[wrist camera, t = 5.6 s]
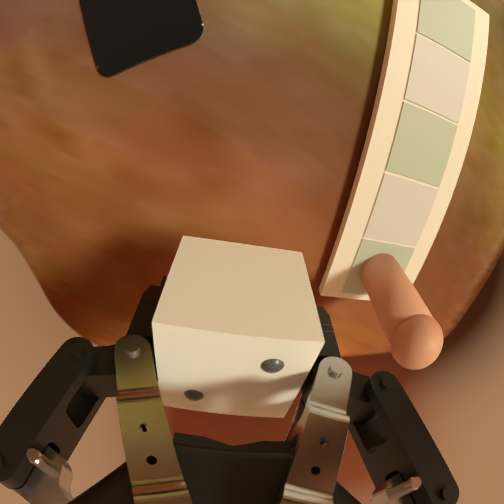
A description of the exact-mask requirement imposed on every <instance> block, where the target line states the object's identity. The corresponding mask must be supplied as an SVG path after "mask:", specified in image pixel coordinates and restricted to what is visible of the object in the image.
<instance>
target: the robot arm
mask: <svg viewBox="0 0 504 504" xmlns="http://www.w3.org/2000/svg"><path fill="white" fill-rule="evenodd" d="M167 277H168V276H164V277H163V280H162V283H161V285H160V286H153V285H151V286H150V287H149V288H148V289H147V290H145V291H144V293H143V295H142V297H141V300H140V302H139V305H138V307H137V309H136V312H135V314H134V317H133V319H132V322H131V324H130V327H129V330H128V332H127V334H126V336H124V337H122V338H120V339H119V340H118V341H117V342H116V344H115V345H111V346H100V347H93V345H92V343H91V342H90V341H89V340H87V339H85V338H82V337H74V338H71V339H69V340H67V341H66V342H65V343H64V344H63V345H62V346H61V347H60V348H59V349H58V351H57V352H56V353H55V354H54V356H53V357H52V358H51V359H50V360H49V362H48V363H47V364H46V365H45V367H44V368H43V369H42V370H41V372H40V373H39V374H38V376H37V377H36V378H35V379H34V381H33V382H32V383H31V385H30V386H29V387H28V388H27V390H26V391H25V392H24V394H23V395H22V396H21V398H20V399H19V400H18V402H17V403H16V404H15V406H14V407H13V408H12V410H11V411H10V413H9V414H8V415H7V417H6V418H5V420H4V421H3V423H2V424H1V426H0V483H1V484H3V485H4V486H5V487H7V488H9V489H10V490H12V491H14V492H16V493H18V494H20V495H21V496H22V497H23V498H24V499H26V500H27V501H28V502H30V503H31V504H361V503H360V502H359V501H358V500H357V499H355V498H354V497H353V496H352V495H351V494H350V493H349V492H348V491H347V490H346V489H345V488H344V487H342V486H341V485H340V484H339V483H338V482H337V477H338V473H339V469H340V465H341V461H342V456H343V452H344V447H345V443H346V437H347V433H348V429H349V431H350V433H351V435H352V437H353V439H354V442H355V444H356V446H357V448H358V450H359V452H360V455H361V457H362V459H363V461H364V463H365V466H366V468H367V470H368V472H369V474H370V476H371V479H372V481H373V483H374V485H375V489H374V491H373V494H372V499H371V504H456V503H457V500H458V497H459V488H458V486H457V484H456V482H455V480H454V478H453V476H452V474H451V472H450V470H449V468H448V466H447V464H446V463H445V461H444V459H443V457H442V455H441V453H440V451H439V450H438V448H437V446H436V445H435V442H434V441H433V439H432V437H431V435H430V434H429V432H428V430H427V428H426V427H425V425H424V423H423V421H422V419H421V418H420V416H419V414H418V413H417V411H416V409H415V407H414V406H413V404H412V402H411V401H410V399H409V397H408V396H407V394H406V392H405V391H404V389H403V387H402V386H401V384H400V383H399V381H398V379H397V378H396V377H395V376H394V375H393V374H391V373H389V372H387V371H377V372H375V373H374V374H373V375H372V376H371V377H369V376H366V375H362V374H358V373H355V372H353V371H352V369H351V367H350V366H349V364H348V363H346V361H344V360H343V359H341V356H340V352H339V349H338V345H337V341H336V338H335V334H334V333H333V332H334V331H333V327H332V326H331V325H332V323H331V320H330V316H329V314H328V313H327V312H326V311H325V309H324V308H323V307H317V306H316V308H317V312H318V316H319V320H320V324H321V328H322V332H323V336H324V340H325V343H324V345H323V347H322V349H321V351H320V353H319V355H318V357H317V359H316V361H315V363H314V364H313V366H312V368H311V370H310V372H309V374H308V376H307V377H306V379H305V381H304V383H303V385H302V387H301V388H300V389H301V391H302V396H301V398H300V400H299V403H298V406H297V409H296V412H295V415H294V418H293V421H292V424H291V426H290V430H289V432H288V435H287V437H286V439H285V441H260V442H255V443H249V444H243V445H237V446H231V445H228V444H225V443H221V442H218V441H215V440H212V439H209V438H206V437H203V436H196V435H189V434H182V433H174V439H172V438H171V434H170V431H169V427H168V424H167V419H166V415H165V411H164V407H163V403H162V398H161V394H160V391H159V387H158V383H157V381H158V376H157V368H156V359H155V351H154V341H153V330H152V320H153V317H154V314H155V311H156V308H157V305H158V302H159V299H160V297H161V294H162V291H163V288H164V285H165V283H166V280H167ZM314 300H315V299H314ZM315 304H316V303H315ZM106 397H116V398H117V408H118V416H119V422H120V429H121V435H122V441H123V446H124V451H125V457H126V462H125V463H123V464H122V465H121V466H119V467H118V468H117V469H116V470H114V471H113V472H111V473H110V474H109V475H107V476H106V477H105V478H103V479H102V480H100V481H99V482H98V483H96V484H95V485H93V486H92V487H90V488H89V489H87V490H86V491H85V492H83V493H82V494H80V495H79V496H77V497H76V498H75V499H74V498H73V497H72V494H71V491H70V485H71V482H72V478H73V473H72V469H71V467H70V465H69V464H68V462H67V461H68V459H69V458H70V456H71V454H72V452H73V451H74V449H75V447H76V446H77V444H78V442H79V441H80V439H81V437H82V436H83V434H84V432H85V431H86V429H87V427H88V426H89V424H90V422H91V421H92V419H93V418H94V416H95V414H96V413H97V411H98V409H99V408H100V406H101V405H102V403H103V402H104V400H105V398H106Z"/></svg>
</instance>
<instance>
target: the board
mask: <svg viewBox="0 0 504 504" xmlns="http://www.w3.org/2000/svg"><path fill="white" fill-rule="evenodd" d="M488 31H489V15H488V14H487V13H486V12H484V11H483V10H482V9H480V8H479V7H478V6H476V5H475V4H474V3H472V2H471V1H469V0H393V5H392V12H391V19H390V25H389V32H388V38H387V44H386V49H385V55H384V60H383V65H382V70H381V75H380V80H379V85H378V89H377V94H376V98H375V103H374V107H373V111H372V116H371V120H370V124H369V128H368V132H367V136H366V140H365V144H364V147H363V151H362V155H361V159H360V162H359V166H358V169H357V173H356V177H355V180H354V183H353V187H352V190H351V194H350V197H349V200H348V204H347V207H346V210H345V213H344V216H343V220H342V223H341V226H340V229H339V232H338V235H337V238H336V241H335V244H334V247H333V250H332V253H331V256H330V259H329V262H328V264H327V267H326V270H325V273H324V276H323V278H322V281H321V284H320V287H319V292H320V296H329V297H340V298H350V299H361V300H370V298H369V296H368V294H367V292H366V290H365V287H364V285H363V283H362V281H361V279H360V271H361V268H362V266H363V265H364V263H365V262H366V261H367V260H368V259H369V258H371V257H372V256H374V255H377V254H381V253H387V254H390V255H392V256H393V257H394V258H395V259H396V260H397V262H398V263H399V265H400V266H401V268H402V269H403V271H404V272H405V274H406V275H407V277H408V278H409V280H410V281H411V283H412V284H413V283H414V281H415V279H416V277H417V275H418V273H419V271H420V269H421V267H422V265H423V263H424V261H425V259H426V257H427V255H428V252H429V250H430V248H431V246H432V244H433V241H434V239H435V237H436V235H437V232H438V230H439V227H440V225H441V223H442V220H443V218H444V215H445V213H446V210H447V208H448V205H449V202H450V200H451V197H452V194H453V191H454V189H455V186H456V183H457V180H458V177H459V174H460V171H461V168H462V165H463V161H464V158H465V155H466V151H467V148H468V144H469V141H470V137H471V133H472V129H473V125H474V121H475V117H476V112H477V108H478V103H479V98H480V93H481V88H482V82H483V75H484V69H485V61H486V53H487V43H488Z"/></svg>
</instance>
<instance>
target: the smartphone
mask: <svg viewBox="0 0 504 504" xmlns="http://www.w3.org/2000/svg"><path fill="white" fill-rule="evenodd" d="M80 1H81V6H82V10H83V15H84V19H85V23H86V28H87V32H88V36H89V40H90V44H91V47H92V51H93V55H94V58H95V62H96V66H97V69H98V70H99V72H100V73H102V74H103V75H107V76H112V75H116V74H118V73H120V72H122V71H124V70H127V69H129V68H131V67H133V66H136V65H138V64H140V63H143V62H145V61H147V60H149V59H152V58H154V57H158V56H160V55H163V54H165V53H168V52H171V51H174V50H176V49H179V48H182V47H185V46H188V45H191V44H193V43H195V42H197V41H198V40H199V39H200V38H201V36H202V35H203V32H204V24H203V20H202V17H201V14H200V10H199V7H198V4H197V1H196V0H80Z"/></svg>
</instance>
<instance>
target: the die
mask: <svg viewBox="0 0 504 504" xmlns="http://www.w3.org/2000/svg"><path fill="white" fill-rule="evenodd" d="M152 330H153V341H154V351H155V359H156V368H157V376H158V383H159V390H160V394H161V398H162V403H163V405H165V406H170V407H176V408H182V409H189V410H196V411H203V412H211V413H221V414H231V415H242V416H258V417H281V418H283V417H284V416H285V414H286V413H287V411H288V409H289V408H290V406H291V404H292V402H293V401H294V399H295V397H296V395H297V394H298V392H299V390H300V388H301V387H302V385H303V383H304V381H305V379H306V377H307V376H308V374H309V372H310V370H311V368H312V366H313V364H314V363H315V361H316V359H317V357H318V355H319V353H320V351H321V349H322V347H323V345H324V343H325V340H324V336H323V332H322V328H321V324H320V320H319V316H318V312H317V308H316V304H315V300H314V296H313V292H312V288H311V285H310V281H309V277H308V273H307V270H306V266H305V262H304V259H303V255H302V252H296V251H289V250H282V249H275V248H268V247H261V246H254V245H247V244H240V243H233V242H226V241H219V240H211V239H204V238H197V237H190V236H183V237H182V240H181V243H180V245H179V248H178V250H177V253H176V256H175V258H174V261H173V263H172V266H171V269H170V272H169V274H168V277H167V280H166V283H165V285H164V288H163V291H162V294H161V297H160V299H159V302H158V305H157V308H156V311H155V314H154V317H153V320H152Z"/></svg>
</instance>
